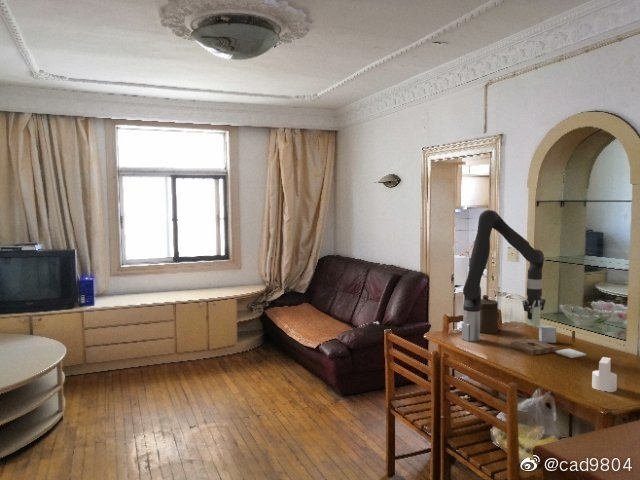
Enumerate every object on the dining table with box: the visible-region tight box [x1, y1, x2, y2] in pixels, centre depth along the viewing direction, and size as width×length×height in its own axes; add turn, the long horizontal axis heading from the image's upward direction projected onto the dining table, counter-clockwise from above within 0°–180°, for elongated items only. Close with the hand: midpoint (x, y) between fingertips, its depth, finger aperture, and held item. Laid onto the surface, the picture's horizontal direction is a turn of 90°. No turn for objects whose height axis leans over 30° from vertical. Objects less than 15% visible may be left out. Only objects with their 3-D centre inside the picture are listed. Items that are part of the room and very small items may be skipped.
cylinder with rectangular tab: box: [591, 356, 618, 393], centre depth 202 cm, size 9×9×12 cm
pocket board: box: [509, 338, 558, 356], centre depth 257 cm, size 16×16×2 cm
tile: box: [554, 348, 587, 359], centre depth 247 cm, size 10×10×1 cm
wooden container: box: [480, 294, 499, 334], centre depth 294 cm, size 15×15×22 cm
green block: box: [526, 306, 541, 327], centre depth 255 cm, size 4×4×10 cm
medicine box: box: [538, 325, 557, 344], centre depth 269 cm, size 8×4×9 cm, turn 84°
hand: (533, 318), depth 255 cm, fingers closed on green block, 4 cm apart
